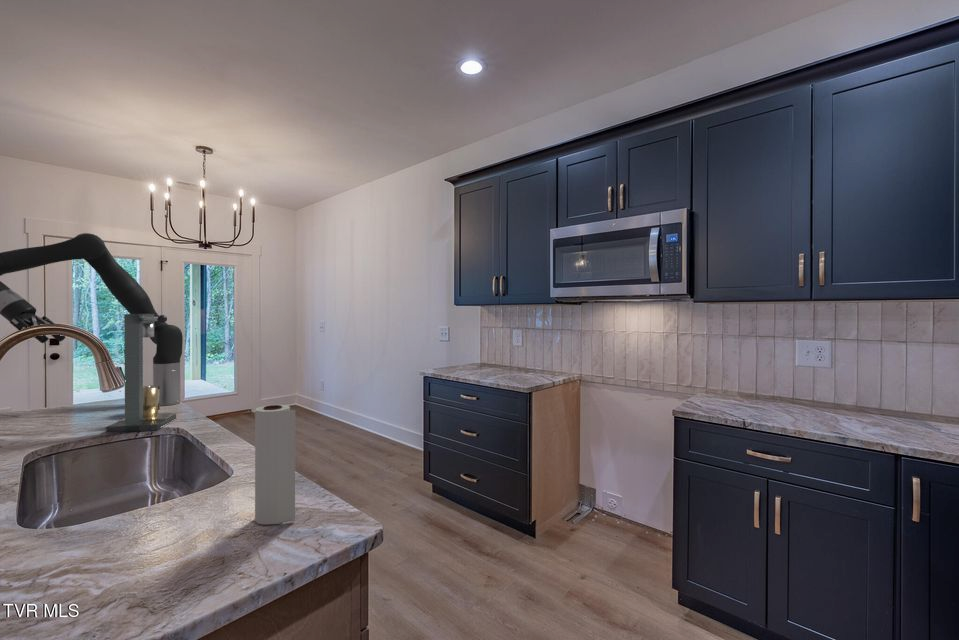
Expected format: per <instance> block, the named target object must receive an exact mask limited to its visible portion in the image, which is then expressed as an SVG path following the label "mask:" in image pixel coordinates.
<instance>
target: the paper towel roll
mask: <svg viewBox="0 0 959 640" xmlns="http://www.w3.org/2000/svg"><path fill="white" fill-rule="evenodd" d="M254 416H255V417H254V419H255V420H254V460H255V461H254V463H255V464H254V470H255V471H254V521H255V523H256V524H258V525H263V526H264V525H278V524H279V525H280V524H283V523H288V522H290V523H291V522H296V409H291V406H290V405H287V404H269V405H263V406H259V407H257V408H255V411H254Z"/></svg>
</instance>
